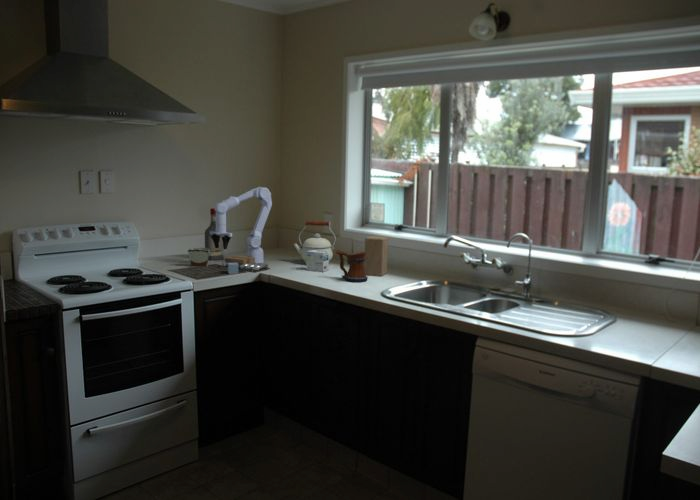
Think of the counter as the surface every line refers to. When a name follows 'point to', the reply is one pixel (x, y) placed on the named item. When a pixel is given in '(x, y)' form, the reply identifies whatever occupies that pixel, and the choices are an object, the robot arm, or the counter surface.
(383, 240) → the wooden block
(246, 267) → the roller track
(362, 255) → the mug
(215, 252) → the liquor
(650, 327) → the counter surface
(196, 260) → the food container
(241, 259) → the slab
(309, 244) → the kettle
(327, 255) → the light bulb box
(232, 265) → the block
